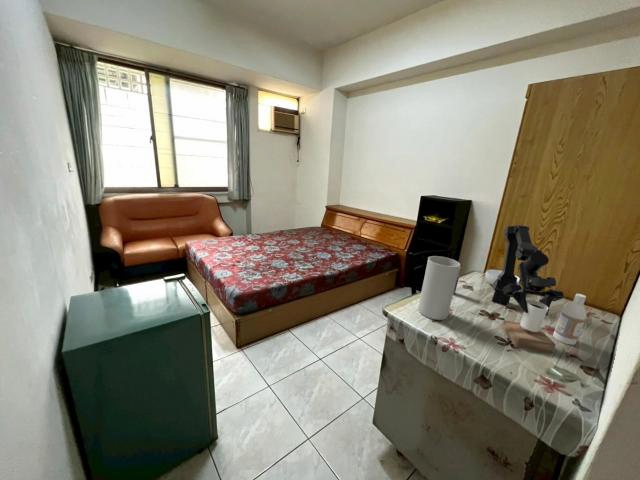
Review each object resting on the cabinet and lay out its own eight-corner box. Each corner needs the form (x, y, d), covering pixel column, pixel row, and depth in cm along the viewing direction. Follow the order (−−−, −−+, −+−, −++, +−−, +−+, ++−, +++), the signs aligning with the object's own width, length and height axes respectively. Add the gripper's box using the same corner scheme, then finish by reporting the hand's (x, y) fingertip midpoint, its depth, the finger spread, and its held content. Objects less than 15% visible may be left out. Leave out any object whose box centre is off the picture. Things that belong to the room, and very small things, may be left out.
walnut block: (501, 328, 110) (504, 320, 109) (533, 333, 108) (536, 325, 107) (516, 347, 98) (519, 337, 97) (552, 353, 96) (555, 344, 95)
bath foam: (566, 346, 101) (585, 300, 96) (548, 334, 108) (564, 291, 102) (580, 344, 103) (598, 299, 97) (560, 333, 109) (577, 290, 104)
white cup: (544, 330, 100) (552, 307, 97) (533, 334, 97) (542, 310, 94) (525, 321, 106) (532, 299, 103) (515, 323, 103) (522, 301, 100)
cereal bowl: (479, 278, 163) (482, 267, 161) (509, 282, 159) (512, 272, 157) (488, 289, 147) (492, 278, 145) (522, 295, 143) (526, 283, 141)
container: (456, 292, 140) (462, 266, 136) (453, 295, 136) (459, 269, 132) (447, 289, 143) (452, 264, 139) (444, 292, 139) (450, 266, 135)
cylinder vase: (434, 304, 126) (444, 255, 119) (454, 319, 114) (467, 266, 107) (412, 306, 122) (422, 256, 115) (430, 322, 110) (442, 267, 103)
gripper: (514, 264, 100) (521, 304, 93) (570, 271, 97) (581, 313, 90) (500, 275, 110) (505, 311, 103) (549, 281, 107) (558, 320, 100)
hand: (536, 314), depth 98 cm, fingers closed on white cup, 6 cm apart
